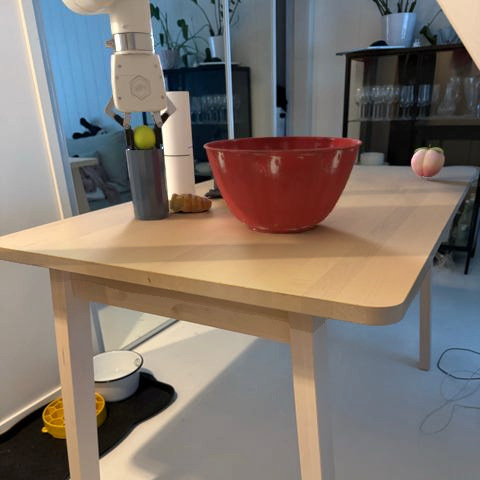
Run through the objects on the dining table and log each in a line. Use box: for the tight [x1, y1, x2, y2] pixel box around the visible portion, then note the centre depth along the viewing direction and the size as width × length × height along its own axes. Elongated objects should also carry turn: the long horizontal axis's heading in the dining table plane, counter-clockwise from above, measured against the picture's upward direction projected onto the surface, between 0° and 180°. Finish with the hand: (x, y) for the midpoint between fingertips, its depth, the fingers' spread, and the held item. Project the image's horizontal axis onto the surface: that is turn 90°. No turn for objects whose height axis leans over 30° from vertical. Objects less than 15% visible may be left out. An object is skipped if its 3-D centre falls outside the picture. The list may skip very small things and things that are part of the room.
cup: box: [125, 146, 171, 221], centre depth 98 cm, size 8×8×14 cm
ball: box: [132, 124, 156, 150], centre depth 94 cm, size 5×5×5 cm
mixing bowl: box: [203, 135, 363, 234], centre depth 87 cm, size 28×28×16 cm
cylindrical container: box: [159, 90, 197, 201], centre depth 115 cm, size 7×7×25 cm
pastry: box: [169, 193, 213, 213], centre depth 105 cm, size 9×7×4 cm
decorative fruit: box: [410, 143, 445, 178], centre depth 136 cm, size 9×8×10 cm
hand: (145, 148), depth 95 cm, fingers closed on ball, 4 cm apart
